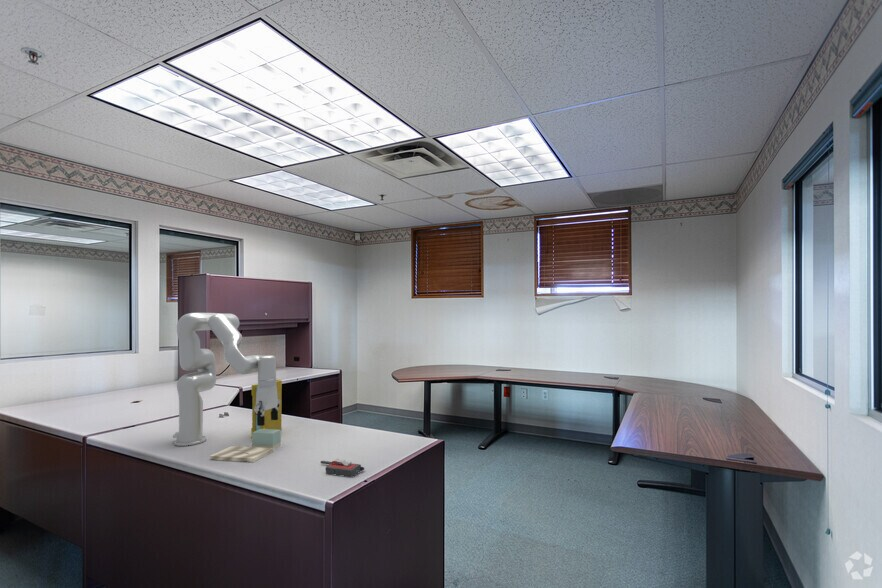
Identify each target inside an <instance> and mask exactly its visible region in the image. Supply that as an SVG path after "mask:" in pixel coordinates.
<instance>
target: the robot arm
mask: <svg viewBox="0 0 882 588" xmlns="http://www.w3.org/2000/svg"><path fill="white" fill-rule="evenodd" d="M240 324H241V323H240V319H239V317H238V316H237V315H235V314H234V313H218V312H189V313H185V314H184V315H182V316H181V317H179V319H178V321H177V324H176V333H177V338H178V353H179V355H178V356H179V366H180V368H181V369H182V370H183V371H194V370H197V371H196V372H190V373H186V374H183V375H182V376H181V377H179V378H178V380H177V383H176V390H177V395H178V431H177V432H174V434H173V435H172V438H176V440H175V441H174V445H175V446H176V447H177V446H179V447H189V446H194V445H199V444H201V443H204V442H205V441H207V437H206V436H205V435H203V434H204V433H203V431H204V430H203V427H204V425H203V424H204V422H203V421H204V400H203V398H202V396H201V394H200V393H203V392H207V391H211V390H212V389H213V388H215V386H216V383H217V367H216V366H217V365H216V363H217V361H216V357H215V353H214V352H213V351H212V350H211V349H209V348H201V340H200V337H199V335H198V334H197V333H196V332H197V331H199V332H200V331H212V333H213V334H214V335H215V336H216V338H217V339H218V340H219V341H220V342H221V344H222V345H223V347H224V350H223V352H224V357H225V358H224V359H225V361H226V362H227V364H228V365H229V366H230V368H231V369H232V370H234V371H235V372H236V373H237V374H239V375H245V374H251V373H256V372H257V384H258V388H257V393H256V406H255V407H254V411H255V414H256V416H257V425H258V426H264V425H265V417H264V416H263V415H264V413H265V411H267V410H270V409H271V410H272V411H271V420H278V410H279V408H278V407H279V403H280V399H278V395H277V387H276V380H277V360H276V359H277V358H276V356H275V355H272V354H271V355H270V354H269V355H260V354H253V355H246V356H244V355H243V354H242V352H241V351H240V349H239V347H238V345H239V344H240V342H241V341H242V340H243V335H242V333H240V331H239V330H238V328H239V327H240ZM261 411H262V413H261ZM188 445H189V446H188Z"/></svg>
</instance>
